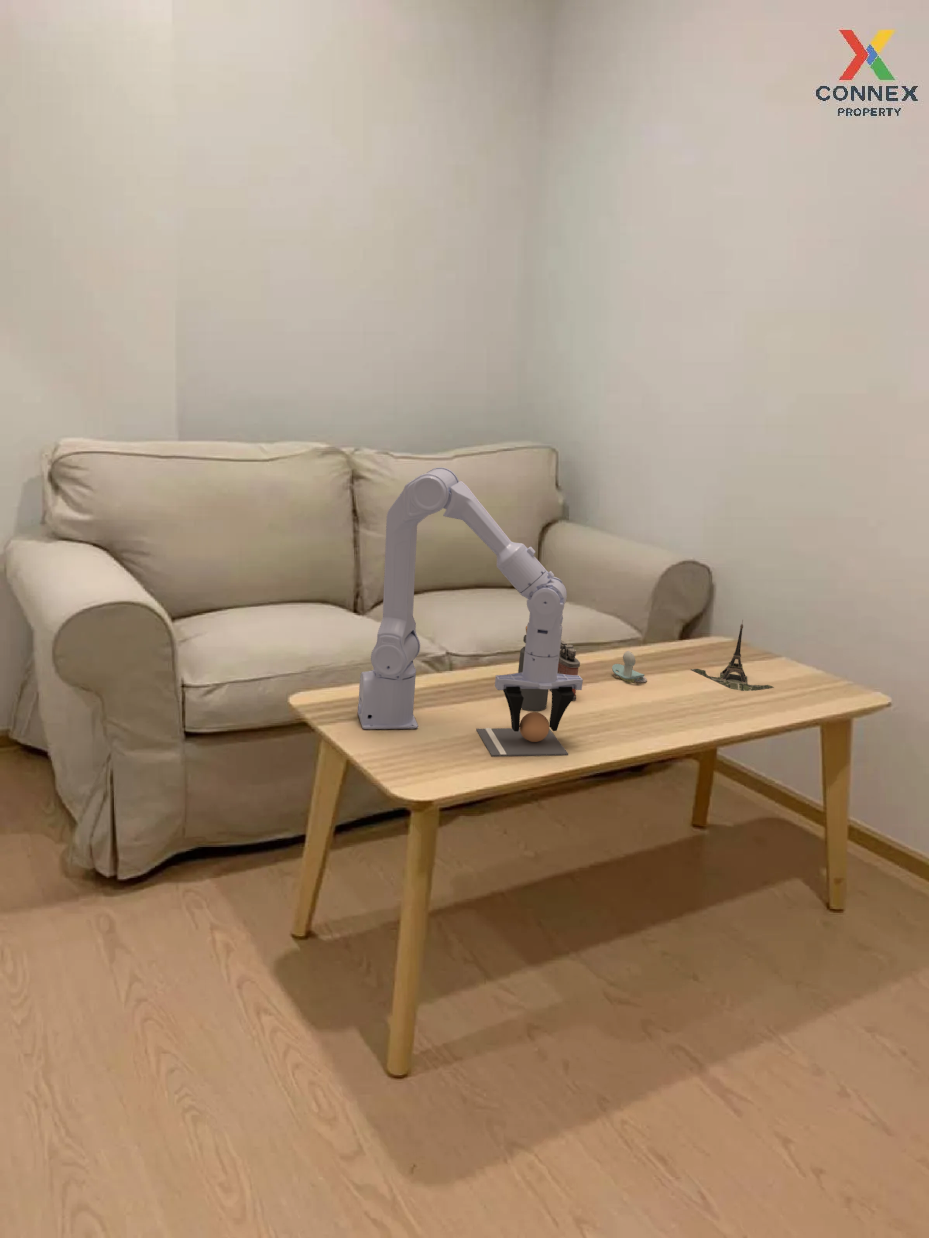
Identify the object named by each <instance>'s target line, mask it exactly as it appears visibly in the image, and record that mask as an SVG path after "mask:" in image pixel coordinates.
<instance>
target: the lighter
mask: <svg viewBox="0 0 929 1238" xmlns="http://www.w3.org/2000/svg"><path fill="white" fill-rule="evenodd" d="M576 655H577V650H576V649H575V648H574V645H573V644H568V643H566V641H564V640H562V639H561V645H560V653H559V662H558V672H557V674H565V675H579V668H580V666H581V662H580V660H579V659H578V658H576ZM572 691H573V693H574V698H573V700H572V701H571V702H575V701H577V693H576V692H577V690H575V689H572ZM549 692H551V693H552V689H549Z"/></svg>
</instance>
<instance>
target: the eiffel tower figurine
mask: <svg viewBox="0 0 929 1238" xmlns="http://www.w3.org/2000/svg"><path fill="white" fill-rule="evenodd" d="M743 622H744V619H742V622H741V624H740V626H739V634H738V638H737V643H736V646H735V647H736V648H735V650H734V653H733V657H732V658H731V660H730V662H728V665H727V666H726V667H725V668H724V669H723V670H722V671H720V673H719V676H717V677H716V676H711V675H708V674H707V671H706V670H705V669H700V668H691V669H690V671H692V672H695V673H697V674H700V675H701V676H703V677H705V678H708V679H710V680H713V681H714V682H717V683H719V684H721V685H723V686H724V687H726V688H729V689H730V690H738V691H741V692H749V691H752V692H753V691H760V690H761V691H762V690H766V689H769V688H774V686H772V685H770V684H764V685H763V684H749V683H748V676H747V675H746V674H745V671H744V669H743V663H742V661H741V659H742V653H741V647H742V636H743V629H744V624H743ZM736 660H737V661H738V662H737V663H736ZM735 673H736V674H735Z"/></svg>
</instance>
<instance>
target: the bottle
mask: <svg viewBox="0 0 929 1238" xmlns="http://www.w3.org/2000/svg"><path fill="white" fill-rule="evenodd" d="M525 633H526V634H527V625H526V626H525ZM526 634H524V635H523V640H522V641H523V643H524V644H526ZM524 653H525V646H523V647H522V648H520V651H519V659H518V660H519V661H518V670H517V673H522V672H523V663H524ZM520 691H521V695H522V696H523V697H524V699H523V703H522V707H521V710H524V711H530V712H538V711H544V710H545V709H546V708H547V706H548V705H547V704H548V698H549V696H548V695H549V689H520Z"/></svg>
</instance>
